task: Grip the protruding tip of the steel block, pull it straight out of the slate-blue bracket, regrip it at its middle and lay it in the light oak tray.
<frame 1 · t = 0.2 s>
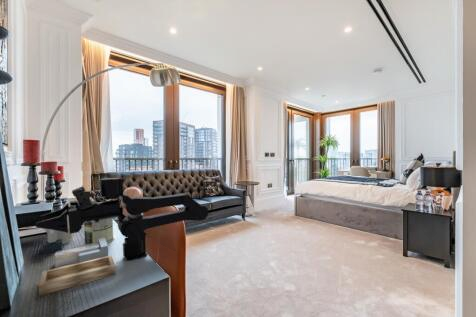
hand: (38, 221, 65), 17 cm above the table, tool horizontal, fingers open, 9 cm apart
oak tray: (80, 277, 66), on the table
coffee can: (99, 242, 94), on the table
bracket: (89, 257, 79), on the table
cup: (60, 242, 95), on the table
steel block: (78, 261, 77), on the table
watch: (52, 250, 86), on the table
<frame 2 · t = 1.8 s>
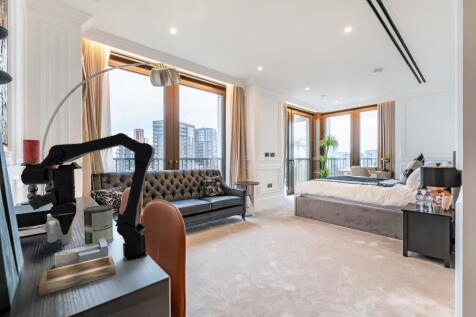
hand: (65, 231, 75), 11 cm above the table, tool pointing down, fingers open, 9 cm apart
nothing on the table moved.
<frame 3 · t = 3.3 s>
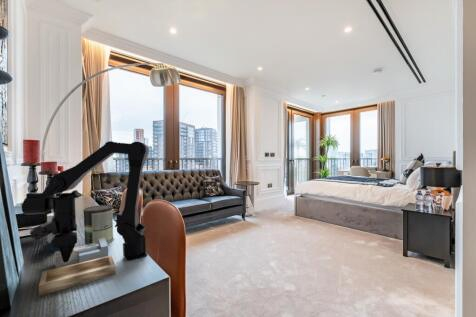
hand: (66, 259, 75), 1 cm above the table, tool pointing down, fingers closed on steel block, 4 cm apart
steel block: (78, 260, 77), on the table, touching gripper
everything else where it was.
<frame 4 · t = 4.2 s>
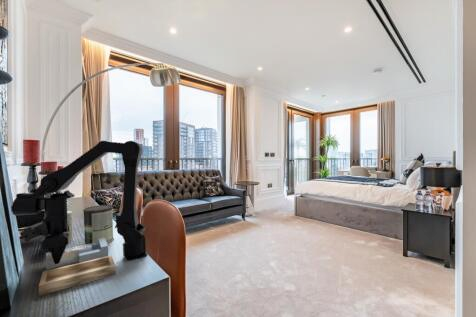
hand: (57, 261, 74), 1 cm above the table, tool pointing down, fingers closed on steel block, 4 cm apart
steel block: (69, 261, 76), on the table, touching gripper
everything else where it was.
when the fingers open (1 cm above the table, at t = 5.5 s): steel block stays where it is, on the table.
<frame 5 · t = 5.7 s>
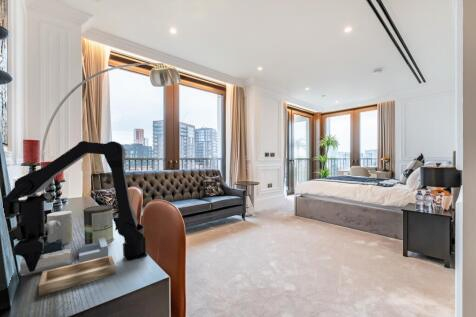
hand: (33, 266, 70), 1 cm above the table, tool pointing down, fingers open, 7 cm apart
steel block: (47, 268, 72), on the table
everything else where it was.
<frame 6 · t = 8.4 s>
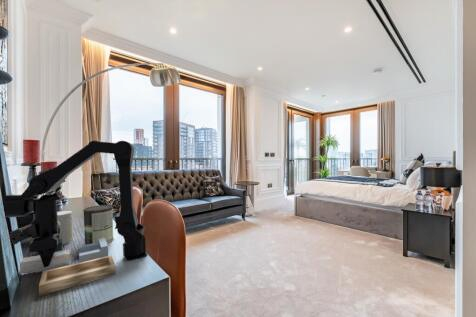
hand: (47, 263, 72), 1 cm above the table, tool pointing down, fingers closed on steel block, 4 cm apart
steel block: (47, 268, 72), on the table, touching gripper
everything else where it was.
when the fingers open (3 cm above the table, at t = 12.5 s): steel block drops 1 cm, resting on oak tray.
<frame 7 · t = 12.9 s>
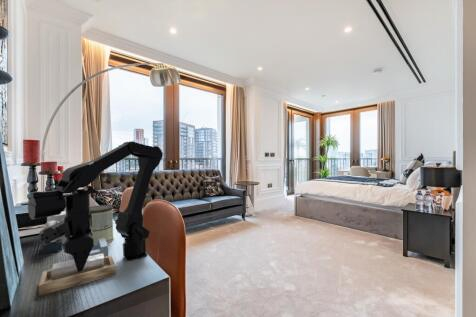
hand: (79, 265, 66), 3 cm above the table, tool pointing down, fingers open, 8 cm apart
steel block: (79, 274, 66), point 1 cm above the table, touching oak tray
everything else where it was.
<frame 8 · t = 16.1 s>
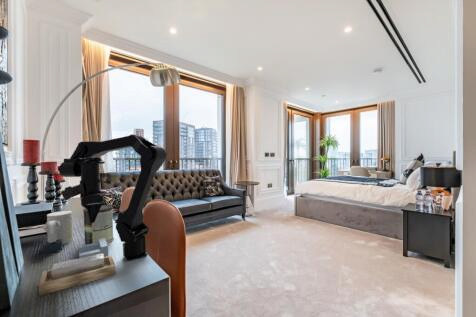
hand: (91, 220, 83), 12 cm above the table, tool pointing down, fingers open, 9 cm apart
nothing on the table moved.
at the end: steel block inside the target area on the oak tray (0.1 cm from its centre), point 0.8 cm above the oak tray's base; steel block touching oak tray; the gripper is holding nothing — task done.
